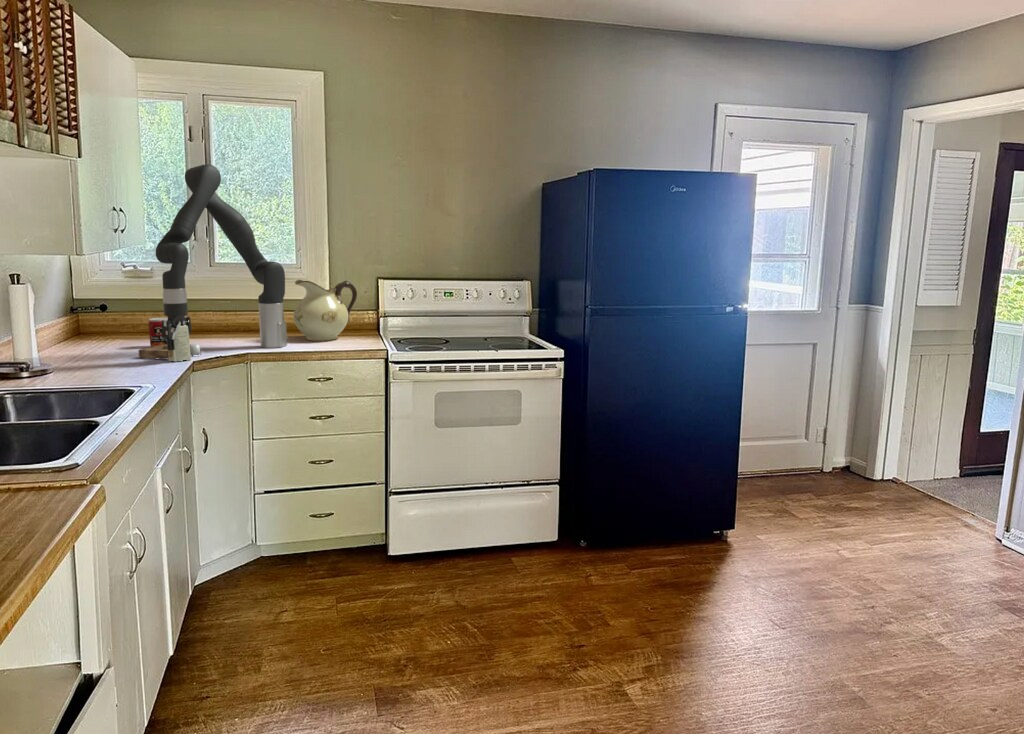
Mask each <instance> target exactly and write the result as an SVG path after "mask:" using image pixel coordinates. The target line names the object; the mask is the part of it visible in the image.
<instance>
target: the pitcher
mask: <svg viewBox="0 0 1024 734" xmlns="http://www.w3.org/2000/svg"><path fill="white" fill-rule="evenodd" d="M294 284H295V285H297V286H301V287H303V288H304V289H305V292H306V293H305V295H304V297H303V298H302V299H301V300H300V302H299V303H298V304H297V305H296V307H295V308H294V311H293V321H294V324H295V326H296V328H297V329H298V330H299V332H300V333H302V334H303V335H304V336H305V338H306V340H307V341H314V342H325V341H328V342H329V341H334V340H337V338H338V335H339V334H340V333H342V331H343V330H345V328H346V326H347V323H350V322H351V321H350V315H351V314H350V313H351V311H352V310H353V309H352V308H353V307H354V305H355V303H356V302H357V297H358V292H357V288H356V287H355V285H354V284H353V283H352V282H349V280H344V281H342V282H339V283H337V284H336V285H335V286H334V287H332V288H329V289H325V288H324V287H322V286H321V285H318V284H317V283H315V282H312V281H310V280H303V279H297V280H295V281H294ZM344 288H345V289H349V290H350V291H351V296H352V297H351V299H350V301H349V304H348V307H347V306H346V305H345V304H344V303H343V300H342V296H341V295H342V291H343V289H344Z"/></svg>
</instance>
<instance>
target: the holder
mask: <svg viewBox="0 0 1024 734" xmlns="http://www.w3.org/2000/svg"><path fill="white" fill-rule="evenodd" d="M138 357H139V358H138V359H142V358H168V348H167V345H162V344H161V345H157V346H153V347H151V346H150V347H146V348H142V349H138Z"/></svg>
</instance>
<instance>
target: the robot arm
mask: <svg viewBox="0 0 1024 734" xmlns="http://www.w3.org/2000/svg"><path fill="white" fill-rule="evenodd" d="M184 181H185V183H186V186H187V187H188V189H189V191H190V192H191V193H192V194H191V196H190V197H189V198H188V199H187V201H186V202H185V203H184V204H182V207H181V208H180V209H179V210H178V212H177V214H176V215H175V217H174V219H173V221H172V224H171V226H170V229H169V230H168V231H167V232H166V233H165V234H164V236H163V237H162V238H161V240H160V241H159V242H158V244H156V245H157V246H156V248H155V258H156V259H157V261H158V262H160V263H161V264H166V265H167V264H171V266H170V270H167V271H164V272H162V276H161V278H162V290H163V291H162V304H163V315H164V316H165V317H166V318H168V320H162V337H163V338H166V339H167V348H168V350H175V344H174V337H175V334H177V332H178V329H179V327H180V326H184V325H185V326H188V332H189V335H191V334H192V332H193V331H192V323H191V322H192V321H191V317H190V316H187V315H188V313H189V312H188V297H187V295H188V294H187V290H186V273H187V269H188V268H187V267H188V264H189V263H188V262H189V258H190V257H189V256H190V255H189V250H188V247H186V245H185V244H184V243H187V242H189V241H190V240H191V238H192V236H193V234H194V231H195V229H196V227H197V224H198V222H199V220H200V217H202V214H203V212H204V210H205V209H206V210H207V211H208V213H209V214H210V215H211V217H212V218H213V219H214V221H215V222H216V223H217V225H218V226H219V227H220V230H221V231H222V232H223V233H224V234H225V236H226V238H227V239H228V241H230V243H231V244H232V246H233V247H234V249H235V250H236V251H237V253H238V254H239V256H240V257H241V258H242V259H243V261H244V262H245V264H246V266H247V267H248V269H249V271H250V274H251V275H252V277H253V278H254V280H255V281H256V282H257V283H258V284H260V285H262V286H263V289H262V290H263V291H262V293H260V295H258V315H259V316H258V320H259V339H260V342H259V343H260V347H261V348H265V349H267V348H268V349H270V348H271V349H272V348H273V349H274V348H283V347H286V346H288V336H287V335H288V333H287V331H288V330H287V321H285V316H284V315H285V314H284V298H285V294H286V273H285V269H284V267H283V266H282V264H281V263H279V262H276V261H269V260H267V259H266V258H265V257H264V255H263V254H262V253H261V252H260V250H259V248H258V247H257V243H256V239H255V234H254V231H253V229H252V227H251V226H250V224H249V223H248V221H247V219H246V218H245V216H243V215H242V213H241V212H240V211H238V210H237V209H236V208H234V207H233V206H231V205H230V204H228V203H227V202H225V201H224V199H222V198H221V197H220V195H219V194H217V190H218V188H219V187H220V185H221V183H222V176H221V172H220V171H219V169H218V168H217V167H216V166H214V165H213V164H201V165H197V166H193V167H190V168H188V169H187V170H186V171H185V173H184ZM171 327H173V328H175V330H171ZM165 331H166V332H167V334H166V335H165ZM171 333H172V335H171Z"/></svg>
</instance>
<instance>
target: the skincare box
mask: <svg viewBox="0 0 1024 734" xmlns="http://www.w3.org/2000/svg"><path fill="white" fill-rule="evenodd" d="M171 330H175V328H173V327H171ZM166 334H167V332H166ZM171 335H172V333H171ZM174 344H175V350H168V359H167V360H168V362H171V361H181V362H184V361H183V360H187V361H191V360H192V356H191V354H190V344H191V343H190V334H189V332H188V326H185V325H184V326H180V327H179V329H178V332H177V334H175V337H174Z"/></svg>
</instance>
